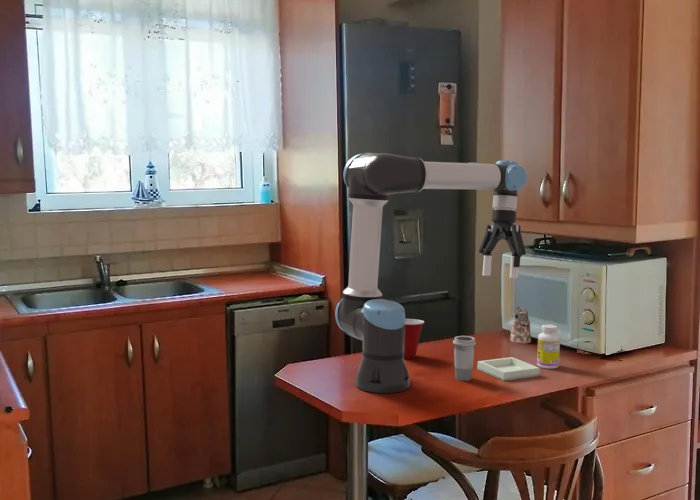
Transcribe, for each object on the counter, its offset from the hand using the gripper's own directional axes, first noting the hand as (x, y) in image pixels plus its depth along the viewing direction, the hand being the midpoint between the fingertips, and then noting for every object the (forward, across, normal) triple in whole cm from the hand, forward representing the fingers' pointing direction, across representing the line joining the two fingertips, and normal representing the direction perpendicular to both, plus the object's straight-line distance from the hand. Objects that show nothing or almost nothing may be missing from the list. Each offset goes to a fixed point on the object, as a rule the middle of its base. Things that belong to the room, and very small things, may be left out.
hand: (499, 276), depth 238 cm
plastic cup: (+28, +17, +22) cm, 39 cm away
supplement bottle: (+27, -11, -12) cm, 32 cm away
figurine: (+22, +18, -26) cm, 39 cm away
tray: (+28, -12, +4) cm, 31 cm away
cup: (+30, -11, +20) cm, 38 cm away
